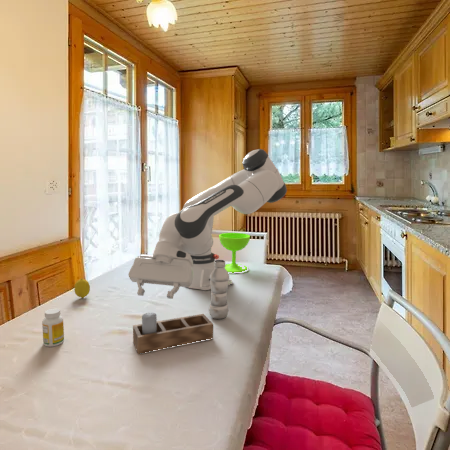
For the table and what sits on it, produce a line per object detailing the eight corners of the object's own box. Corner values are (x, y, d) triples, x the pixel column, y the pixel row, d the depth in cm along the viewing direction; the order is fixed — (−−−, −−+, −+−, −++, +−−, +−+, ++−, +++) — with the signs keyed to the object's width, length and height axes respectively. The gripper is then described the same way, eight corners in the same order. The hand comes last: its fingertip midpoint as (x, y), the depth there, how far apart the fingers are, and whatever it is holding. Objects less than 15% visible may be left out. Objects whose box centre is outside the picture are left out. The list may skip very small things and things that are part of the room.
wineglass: (218, 265, 184) (219, 232, 181) (248, 265, 184) (249, 233, 181) (217, 273, 168) (218, 238, 166) (249, 274, 168) (250, 238, 165)
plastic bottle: (208, 313, 120) (209, 258, 117) (227, 313, 121) (228, 258, 118) (209, 321, 114) (210, 263, 111) (229, 321, 114) (230, 263, 111)
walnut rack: (203, 328, 109) (203, 313, 108) (212, 339, 101) (213, 324, 101) (133, 341, 99) (132, 325, 99) (138, 354, 92) (138, 337, 92)
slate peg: (152, 337, 100) (152, 311, 99) (159, 342, 97) (158, 316, 96) (140, 341, 98) (139, 314, 96) (146, 346, 94) (145, 319, 93)
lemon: (84, 301, 129) (83, 281, 128) (71, 300, 130) (70, 280, 129) (93, 296, 134) (92, 276, 133) (80, 295, 135) (79, 275, 134)
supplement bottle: (40, 347, 95) (38, 315, 93) (47, 338, 100) (45, 307, 98) (61, 346, 96) (59, 314, 94) (66, 337, 101) (64, 306, 99)
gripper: (133, 249, 110) (119, 288, 102) (194, 254, 106) (184, 295, 98) (139, 259, 115) (126, 297, 107) (198, 264, 111) (188, 304, 103)
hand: (154, 296), depth 102 cm, fingers open, 8 cm apart
